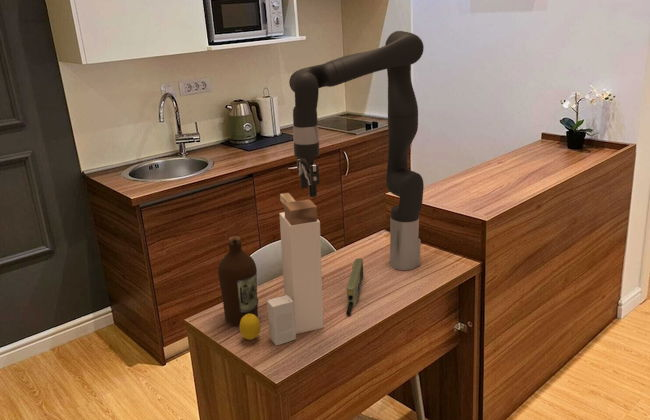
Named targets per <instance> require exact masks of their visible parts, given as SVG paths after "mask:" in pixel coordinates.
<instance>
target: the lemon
mask: <svg viewBox="0 0 650 420" xmlns="http://www.w3.org/2000/svg"><path fill="white" fill-rule="evenodd" d="M239 332H240V334H241V336H242V337H243V338H244V339H246V340H250V341H252V340H253V339H255V338H257V337H258V336H259V334H260V333H261V322H260V320H259V318H258V317H256V316H255V315H253V314H246V315H245V316H243V317H242V319H241V321H240V326H239Z"/></svg>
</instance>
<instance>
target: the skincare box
mask: <svg viewBox="0 0 650 420" xmlns="http://www.w3.org/2000/svg"><path fill="white" fill-rule="evenodd" d="M266 307H267V315H268V317H267V318H268V328H269V329H268V330H269V338H270V341H272V343H273V344H274V345H275V346H280V345H282V344H286V343H289V342H291V341H295V340H296V339H297V337H296V335H297V334H296V333H295V318H294V303H293V300H292V299H291V298H290V297H289V296H288V295H282V296H278V297H275V298H274V297H273V298H270V299H268V300H266Z"/></svg>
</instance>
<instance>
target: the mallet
mask: <svg viewBox="0 0 650 420" xmlns="http://www.w3.org/2000/svg"><path fill="white" fill-rule="evenodd" d="M279 200H280V202H281V203H282V204H283V208H284V209H283V210H284V211H283V212H285V218H286V219H287V221H288V222H289V223H290V224H291V225H297V224H304V223H310V222H316V221H317V219H318V206H317V205H316V204H315V203H314V202H313V201H312V200H311V199H302V200H295V199H294V197H293V196H292V195H291V194H290V193H289V192H285V193H280V194H279Z"/></svg>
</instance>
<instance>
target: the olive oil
mask: <svg viewBox="0 0 650 420" xmlns="http://www.w3.org/2000/svg"><path fill="white" fill-rule="evenodd" d="M228 248H229V251H228V252H227V253H226V254H225V255H224V256H223V258H221V260H220V262H219V265H218V269H217V275H218V279H219V287H220V292H221V293H220V294H221V298H222V304H223V305H222V306H223V312H224V320H225V321H226V323H227V324H229V325H232V326H237V327H238V326H239V327H240V321H241V319H242V317H243V316H245V315H246V314H253V315H255V316H256V317H257V318H258V316H259V312H258V311H259V310H258V309H259V307H258V305H259V298H258V278H257V277H258V276H257V275H258V274H257V273H258V270H257V265H256V262H255V260H254V259H253V258H252V256H250V255H249V254H248V253H247V252H245V251H244V250H243V249H242V241H241V237H240V236H238V235H233V236H230V237H229V238H228Z"/></svg>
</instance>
